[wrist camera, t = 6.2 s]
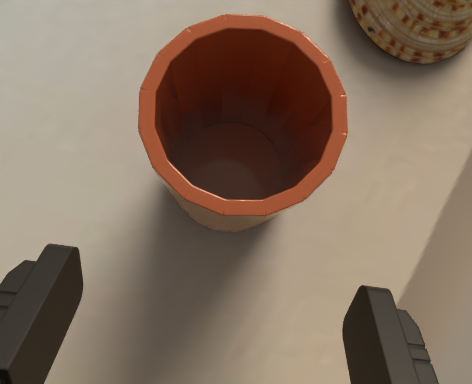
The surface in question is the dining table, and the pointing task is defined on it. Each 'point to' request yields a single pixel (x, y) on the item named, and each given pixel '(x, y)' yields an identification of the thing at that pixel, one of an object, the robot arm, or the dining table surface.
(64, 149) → the dining table surface
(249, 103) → the cup
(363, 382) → the robot arm
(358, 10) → the seashell
